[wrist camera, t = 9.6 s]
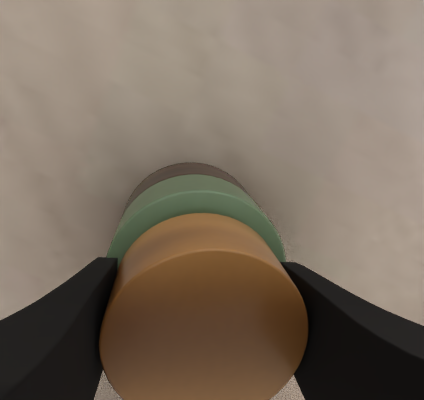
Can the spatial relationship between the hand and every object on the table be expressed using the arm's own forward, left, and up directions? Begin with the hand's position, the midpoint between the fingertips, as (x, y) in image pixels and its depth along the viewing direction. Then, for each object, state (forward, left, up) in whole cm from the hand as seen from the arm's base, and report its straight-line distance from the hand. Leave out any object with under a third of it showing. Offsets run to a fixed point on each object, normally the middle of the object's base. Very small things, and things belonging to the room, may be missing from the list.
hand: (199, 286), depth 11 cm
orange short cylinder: (0, 0, 0) cm, 0 cm away
